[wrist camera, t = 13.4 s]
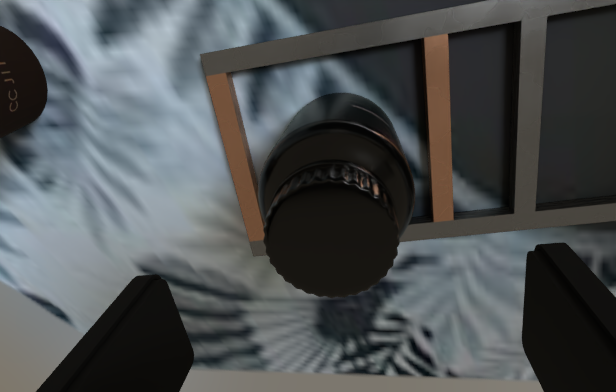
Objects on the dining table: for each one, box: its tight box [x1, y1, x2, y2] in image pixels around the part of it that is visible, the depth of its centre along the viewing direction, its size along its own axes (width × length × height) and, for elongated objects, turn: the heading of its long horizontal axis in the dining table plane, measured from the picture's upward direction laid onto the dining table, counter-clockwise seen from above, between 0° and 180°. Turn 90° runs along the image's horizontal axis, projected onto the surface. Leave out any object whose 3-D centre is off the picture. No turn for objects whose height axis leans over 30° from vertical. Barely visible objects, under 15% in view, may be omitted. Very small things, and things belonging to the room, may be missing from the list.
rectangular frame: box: [200, 0, 616, 256], centre depth 23 cm, size 30×13×1 cm, turn 100°
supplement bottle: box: [258, 93, 415, 298], centre depth 19 cm, size 7×7×12 cm
